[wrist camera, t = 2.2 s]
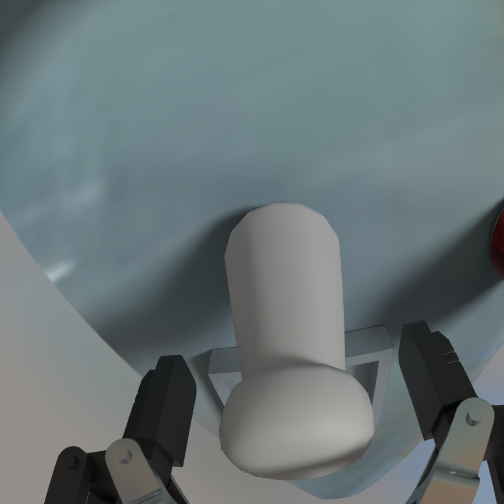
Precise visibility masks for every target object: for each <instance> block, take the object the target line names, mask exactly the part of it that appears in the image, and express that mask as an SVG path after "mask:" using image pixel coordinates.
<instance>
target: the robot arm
mask: <svg viewBox="0 0 504 504" xmlns="http://www.w3.org/2000/svg"><path fill="white" fill-rule="evenodd" d="M399 365H400V368H401V371H402V374H403V377H404V380H405V383H406V385H407V388H408V391H409V394H410V397H411V400H412V403H413V406H414V409H415V412H416V416H417V419H418V422H419V425H420V428H421V432H422V435H423V438H424V441H425V440H428V439H432V438H434V441H435V445H436V446H435V447H434V450H433V452H432V455H431V457H430V459H429V461H428V463H427V465H426V468H425V470H424V472H423V474H422V476H421V478H420V480H419V482H418V484H417V486H416V488H415V489H414V491H413V493H412V495H411V496H410V498H409V499H408V501H407V502H406V504H472V502H473V499H474V497H475V495H476V492H477V489H478V486H479V482H480V478H479V477H478V472H479V469H480V466H481V463H482V461H485V460H487V463H488V466H489V470H490V474H491V479H492V483H493V487H494V492H495V497H496V501H497V504H504V405H490V404H489V403H488V402H487V401H486V400H484V399H482V398H479V397H478V396H477V395H476V393H475V391H474V389H473V386H472V384H471V382H470V380H469V378H468V376H467V374H466V372H465V370H464V368H463V366H462V364H461V362H459V358H458V356H457V354H456V353H455V352H454V349H453V347H452V345H451V343H450V341H449V339H447V338H446V337H445V336H444V335H443V334H441V333H440V332H439V331H436V332H432V333H431V331H430V329H429V327H428V326H427V324H426V322H425V321H424V320H420V321H416V322H412V323H408V324H404V325H403V328H402V335H401V341H400V347H399ZM196 392H197V390H196V383H195V380H194V378H193V376H192V374H191V372H190V370H189V368H188V366H187V364H186V362H185V360H184V358H183V357H182V356H181V355H168V356H161V357H160V358H159V360H158V363H157V366H156V369H155V370H149V372H148V373H147V374H146V375H145V377H144V378H143V379H142V381H141V384H140V386H139V389H138V394H137V395H136V398H135V403H134V404H133V407H132V410H131V413H130V416H129V419H128V422H127V426H126V429H125V432H124V435H123V437H122V439H119V440H116V441H115V442H113V443H112V444H111V445H110V446H109V447H108V449H107V450H105V451H99V452H92V453H85V452H84V451H83V450H82V449H81V448H79V447H76V446H71V447H68V448H66V449H64V450H63V451H62V452H61V453H60V455H59V456H58V459H57V462H56V465H55V468H54V471H53V475H52V478H51V481H50V485H49V489H48V492H47V495H46V499H45V503H44V504H86V502H87V504H190V503H189V502H188V500H187V498H186V497H185V495H184V494H183V492H182V491H181V489H180V488H179V486H178V484H177V483H176V481H175V479H174V478H173V476H172V475H171V472H172V466H175V467H183V463H184V458H185V452H186V447H187V441H188V435H189V430H190V425H191V420H192V414H193V409H194V404H195V399H196ZM88 493H89V495H88ZM87 497H88V499H87Z"/></svg>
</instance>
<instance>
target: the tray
mask: <svg viewBox="0 0 504 504" xmlns="http://www.w3.org/2000/svg"><path fill="white" fill-rule="evenodd" d="M344 340H345V371H348V372H350V373H351V374H352V375H353V376H354V377H355V378H356V379H357V381H358V382H359V383H360V384H361V385H362V386H363V387H364V389H365V390H366V392H367V393H368V396H369V399H370V402H371V406H372V409H373V431H376V430H377V426H378V422H379V418H380V414H381V410H382V406H383V402H384V397H385V393H386V388H387V384H388V379H389V374H390V368H391V363H392V357H393V352H394V347H393V344H392V341H391V339H390V336H389V334H388V331H387V328H386V326H385V325H381V326H376V327H371V328H366V329H361V330H355V331H350V332H344ZM208 376H209V378H210V380H211V382H212V384H213V386H214V388H215V390H216V391H217V393H218V395H219V397H220V399H221V401H222V403H223V405H224V406H225V404H226V402H227V399H228V397H229V395H230V393H231V391H232V389H233V388H234V386H235V385H237V384H238V383H240V382H241V381H242V376H241V369H240V363H239V356H238V350H237V347H234V348H223V349H212V351H211V357H210V363H209V369H208Z"/></svg>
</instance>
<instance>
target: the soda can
mask: <svg viewBox="0 0 504 504" xmlns="http://www.w3.org/2000/svg"><path fill="white" fill-rule="evenodd" d="M490 259H491V264H492V266H493V268H494V270H495V271H496V272H497V273H498V275H499V276H500V277H501V278H502V279H503V280H504V207H503V209H502V210H501V212H500V213H499V215H498V217H497V219H496V221H495V224H494V227H493V230H492V234H491V239H490Z"/></svg>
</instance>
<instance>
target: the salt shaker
mask: <svg viewBox="0 0 504 504" xmlns="http://www.w3.org/2000/svg"><path fill="white" fill-rule="evenodd" d="M224 258H225V266H226V273H227V281H228V288H229V295H230V302H231V309H232V316H233V323H234V330H235V336H236V343H237V350H238V356H239V363H240V369H241V376H242V381H241V382H240V383H238V384H237V385H235V386H234V388H233V389H232V391H231V393H230V395H229V397H228V399H227V402H226V404H225V406H224V409H223V412H222V417H221V422H220V427H219V434H220V443H221V450H222V451H223V452H224V454H225V455H226V456H227V457H228V459H229V460H230V461H231V462H232V463H233V464H234V465H235V466H236V467H238V468H239V469H240V470H242V471H244V472H246V473H249V474H251V475H253V476H256V477H262V478H269V479H276V480H302V479H309V478H315V477H321V476H325V475H329V474H331V473H334V472H337V471H340V470H342V469H345V468H347V467H349V466H350V465H352V464H353V463H354V462H356V461H357V460H358V459H360V458H361V457H362V455H363V454H364V453H365V451H366V450H367V449H368V447H369V446H370V443H371V440H372V436H373V433H374V432H373V409H372V406H371V402H370V399H369V396H368V393H367V392H366V390H365V389H364V387H363V386H362V385H361V384H360V383H359V382H358V381H357V379H356V378H355V377H354V376H353V375H352V374H351V373H350V372H348V371H345V340H344V310H343V291H342V274H341V261H340V248H339V238H338V237H337V235H336V234H335V232H334V231H333V229H332V228H331V226H330V225H329V223H328V222H327V220H326V219H325V218H324V216H323V215H321V214H320V213H318V212H316V211H314V210H312V209H310V208H308V207H307V206H305V205H303V204H301V203H287V202H272V203H270V204H267V205H265V206H262V207H259V208H257V209H254V210H251V211H249V212H248V213H247V214H246V215H245V217H244V218H243V219H242V220H241V221H240V222H239V223H238V224H237V226H236V227H235V228H234V229H233V230H232V232H231V234H230V237H229V241H228V244H227V248H226V252H225V255H224Z"/></svg>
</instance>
